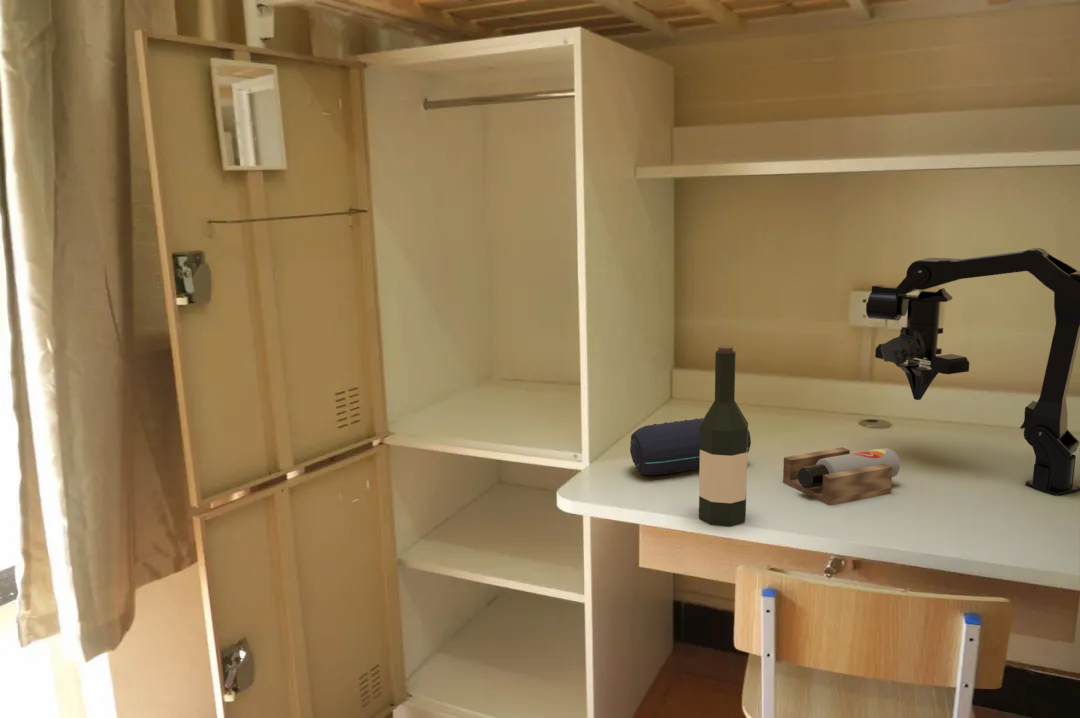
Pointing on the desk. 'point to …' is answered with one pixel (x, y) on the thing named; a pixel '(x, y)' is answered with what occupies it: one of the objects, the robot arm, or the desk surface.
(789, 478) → the cradle
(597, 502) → the desk surface
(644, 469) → the portable speaker
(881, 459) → the lotion bottle
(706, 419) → the wine bottle
